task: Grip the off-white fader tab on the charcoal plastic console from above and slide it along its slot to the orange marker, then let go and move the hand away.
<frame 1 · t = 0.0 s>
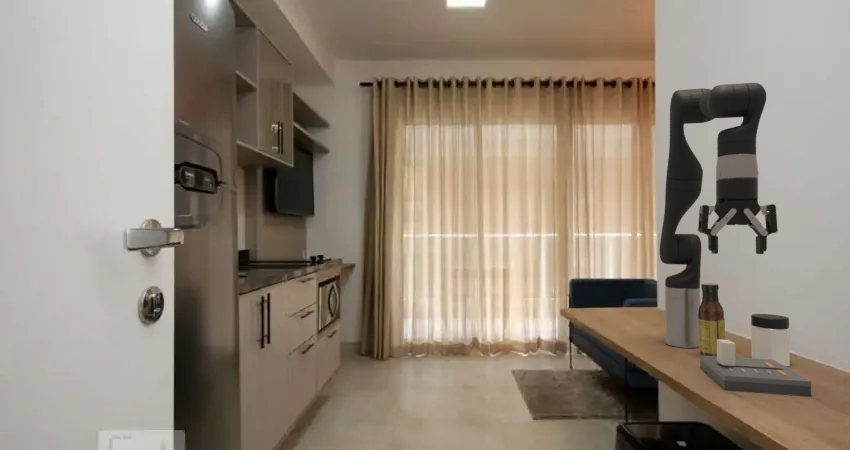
hand: (736, 253, 105), 29 cm above the table, tool pointing down, fingers open, 8 cm apart
sauce bottle: (711, 358, 134), on the table
jar: (769, 363, 129), on the table
fader tab: (725, 355, 115), point 5 cm above the table, slide at -5.0 cm
fader console: (750, 380, 113), on the table
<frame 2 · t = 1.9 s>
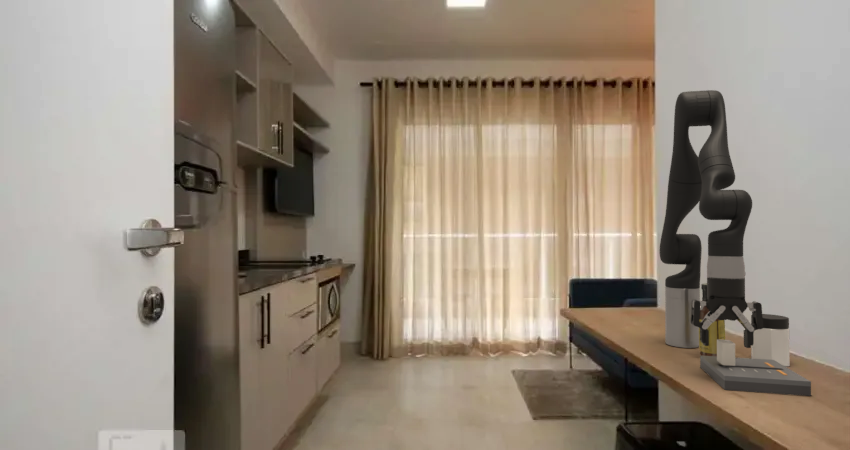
hand: (726, 346, 114), 8 cm above the table, tool pointing down, fingers open, 8 cm apart
nothing on the table moved.
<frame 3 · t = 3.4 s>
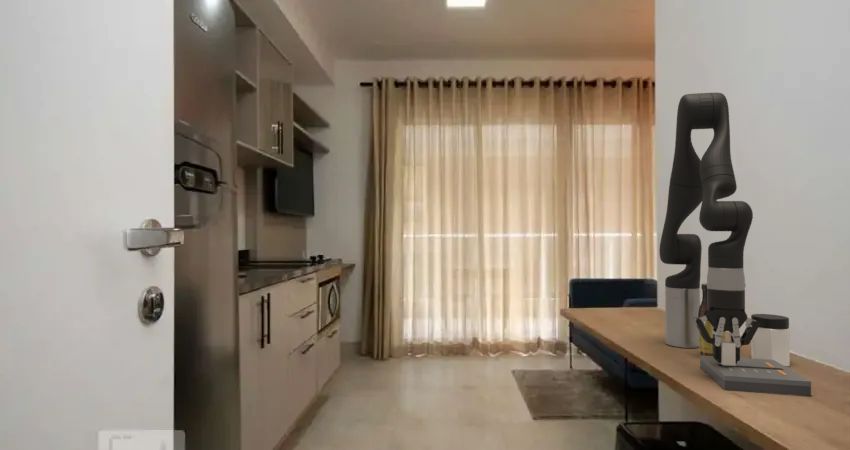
hand: (725, 361, 115), 4 cm above the table, tool pointing down, fingers closed on fader tab, 2 cm apart
fader tab: (726, 355, 115), point 5 cm above the table, slide at -5.0 cm, touching gripper
everything else where it was.
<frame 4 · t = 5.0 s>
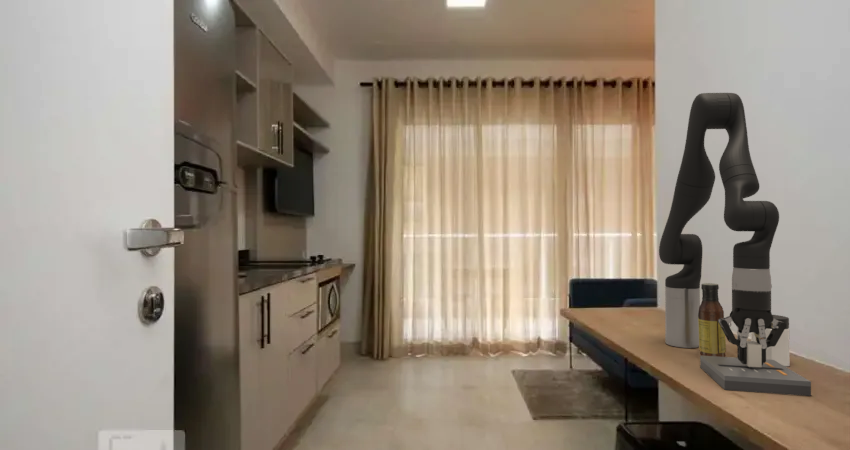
hand: (751, 363, 113), 4 cm above the table, tool pointing down, fingers closed on fader tab, 2 cm apart
fader tab: (751, 356, 113), point 5 cm above the table, slide at 0.2 cm, touching gripper
everything else where it was.
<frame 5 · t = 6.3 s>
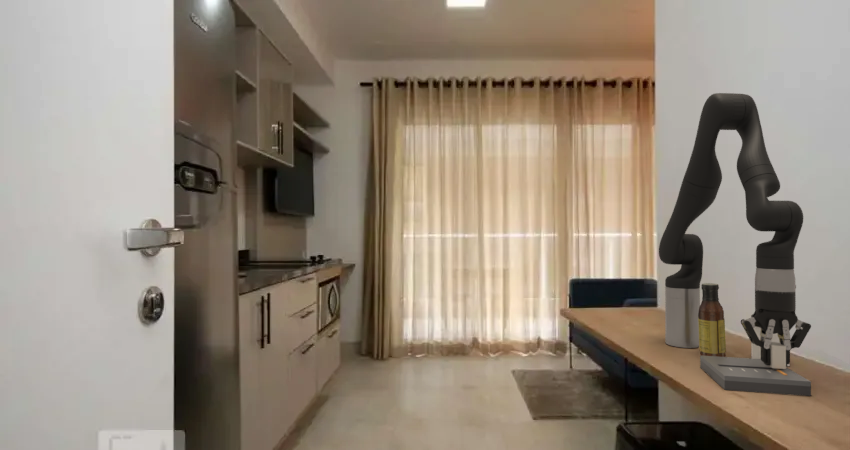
hand: (775, 364, 112), 4 cm above the table, tool pointing down, fingers closed on fader tab, 2 cm apart
fader tab: (775, 357, 112), point 5 cm above the table, slide at 5.0 cm, touching gripper
everything else where it was.
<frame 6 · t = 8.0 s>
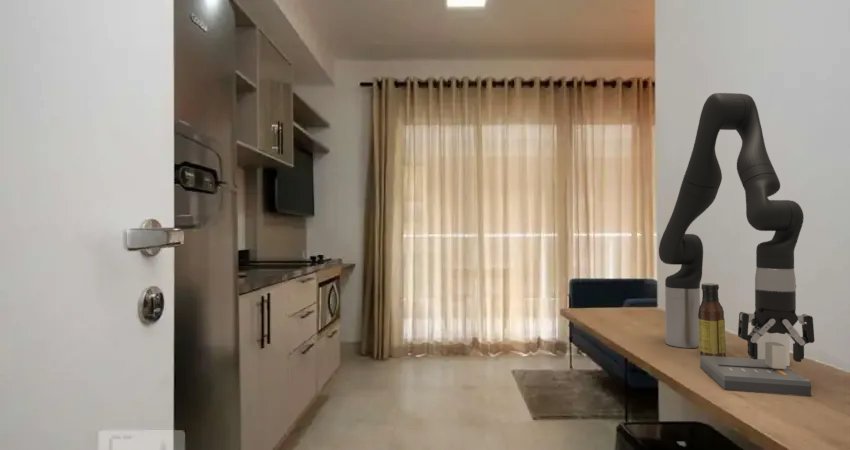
hand: (775, 359, 112), 5 cm above the table, tool pointing down, fingers open, 8 cm apart
fader tab: (775, 358, 112), point 5 cm above the table, slide at 5.0 cm
everything else where it was.
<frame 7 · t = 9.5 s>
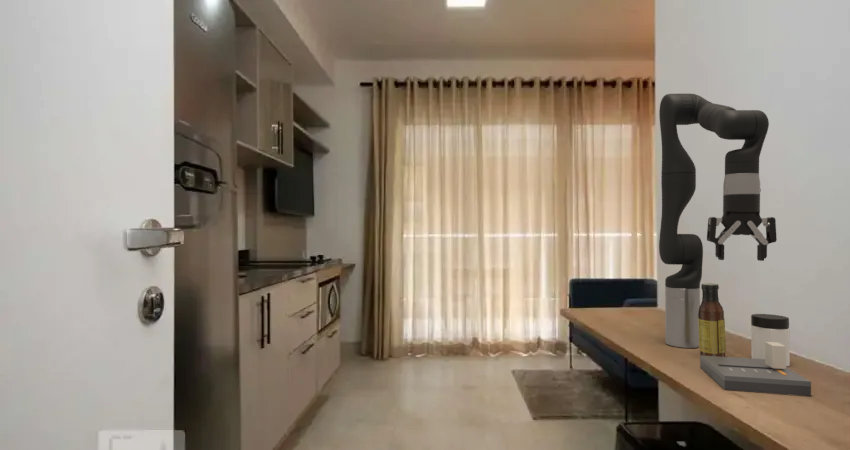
hand: (740, 260, 120), 27 cm above the table, tool pointing down, fingers open, 8 cm apart
nothing on the table moved.
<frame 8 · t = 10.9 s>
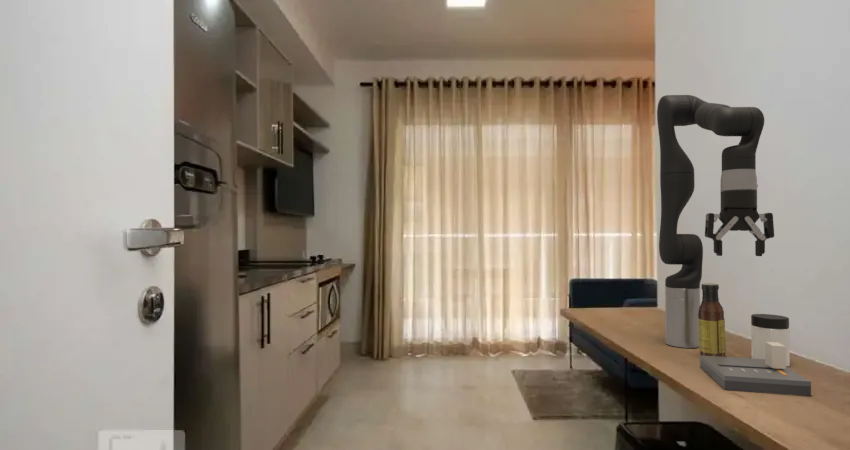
hand: (738, 255, 120), 28 cm above the table, tool pointing down, fingers open, 8 cm apart
nothing on the table moved.
at the end: fader tab slide at 5.0 cm; the gripper is holding nothing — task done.
